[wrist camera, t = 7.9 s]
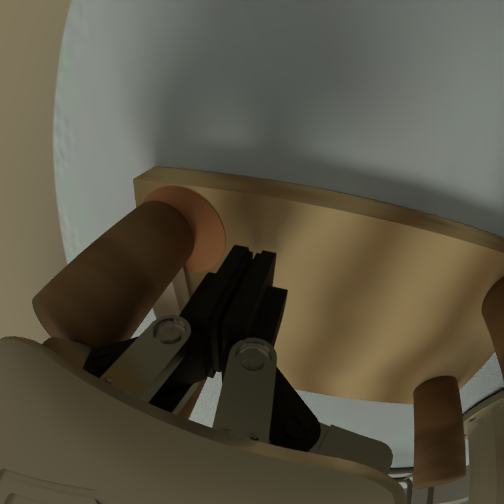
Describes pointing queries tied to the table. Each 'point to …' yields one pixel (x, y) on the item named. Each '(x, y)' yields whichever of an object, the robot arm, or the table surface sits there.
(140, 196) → the stool seat
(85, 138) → the table surface
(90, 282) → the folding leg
